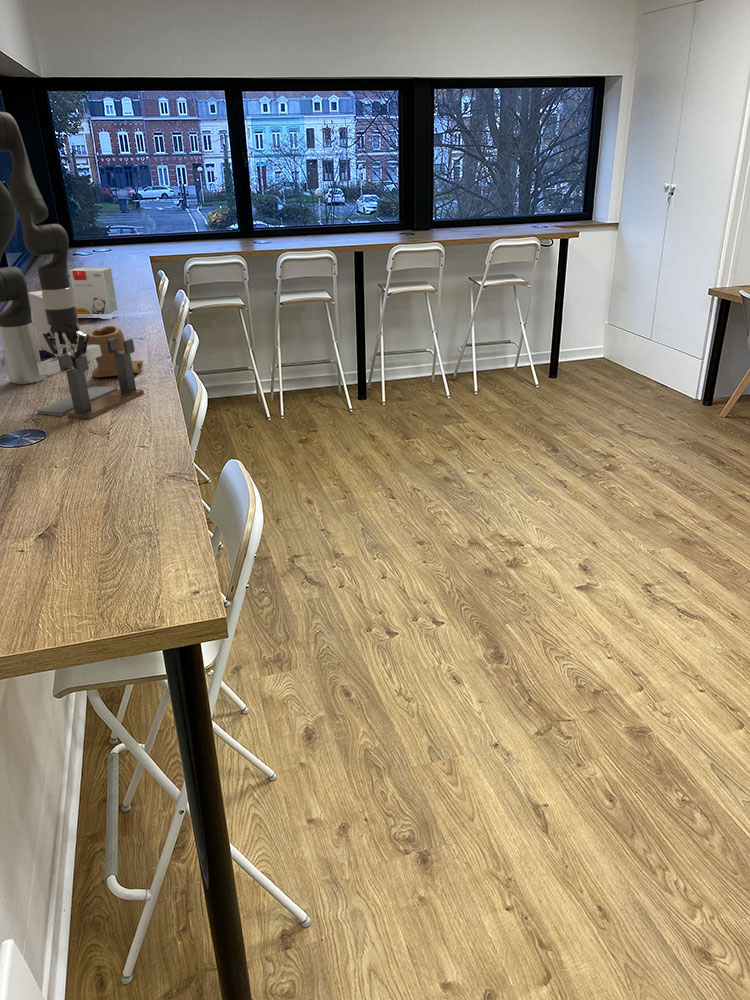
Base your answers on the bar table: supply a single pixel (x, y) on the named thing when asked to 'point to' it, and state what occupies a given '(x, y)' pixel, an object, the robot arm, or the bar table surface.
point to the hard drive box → (93, 290)
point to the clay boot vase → (108, 359)
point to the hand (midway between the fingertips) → (72, 369)
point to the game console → (41, 319)
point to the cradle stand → (105, 403)
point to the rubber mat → (67, 404)
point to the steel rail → (53, 363)
